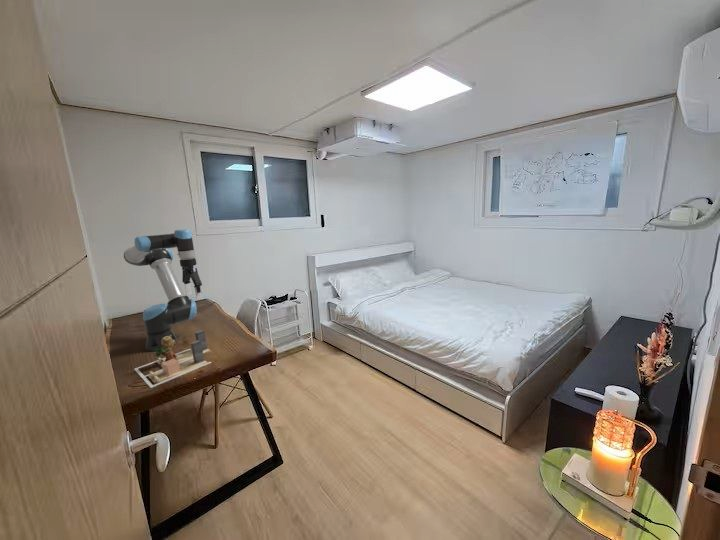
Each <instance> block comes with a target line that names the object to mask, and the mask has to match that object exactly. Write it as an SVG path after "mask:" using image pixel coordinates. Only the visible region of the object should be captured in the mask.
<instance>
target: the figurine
mask: <svg viewBox="0 0 720 540" xmlns="http://www.w3.org/2000/svg"><path fill="white" fill-rule="evenodd" d="M171 336H172V335H170V336H166V337H163V338H162V340H161V344H162V346H163V347H162V348H160V349H155V351H154V352H156V354H155V356H156V357H157V358H159V357H160V356H161V355H162V356H164V358H165V357H166V359H165V362H166V361H169V360H171V359H175V360H178V359H176V357H177V355H178V354H177V355H175V354H176V353H174V351H172V349H173V348H174V347H175V345H176V344H177V343H176V342H174V341H175V340H172V338H171Z"/></svg>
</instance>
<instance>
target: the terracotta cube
mask: <svg viewBox="0 0 720 540" xmlns="http://www.w3.org/2000/svg"><path fill="white" fill-rule="evenodd" d="M161 369H163V374H166V375H168V376H170V375H172V374H175V373H177V372H179V371H181V370H180V365H179V361H178V360H175V359H171V360H169V361H166V362H164V363H162V367H161Z"/></svg>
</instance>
